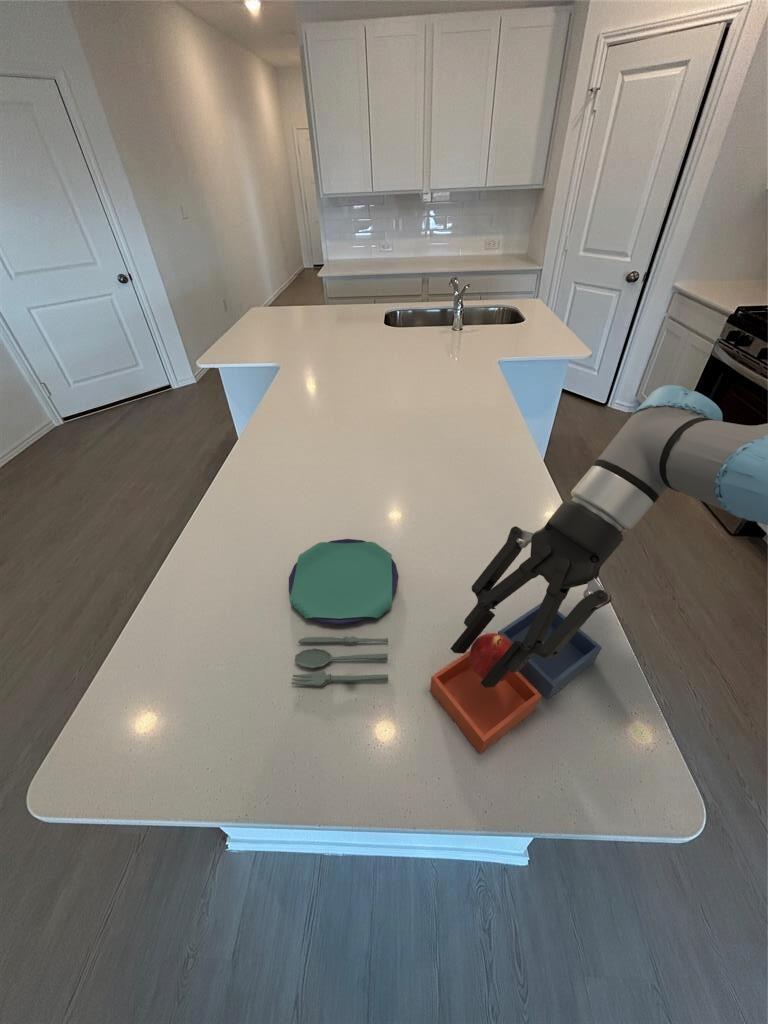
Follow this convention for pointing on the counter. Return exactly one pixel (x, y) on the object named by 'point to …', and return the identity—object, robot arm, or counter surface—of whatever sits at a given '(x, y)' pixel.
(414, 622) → the counter surface
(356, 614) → the cutlery set
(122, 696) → the counter surface
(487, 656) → the red rounded oval piece
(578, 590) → the counter surface
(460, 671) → the terracotta bin
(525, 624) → the blue bin
